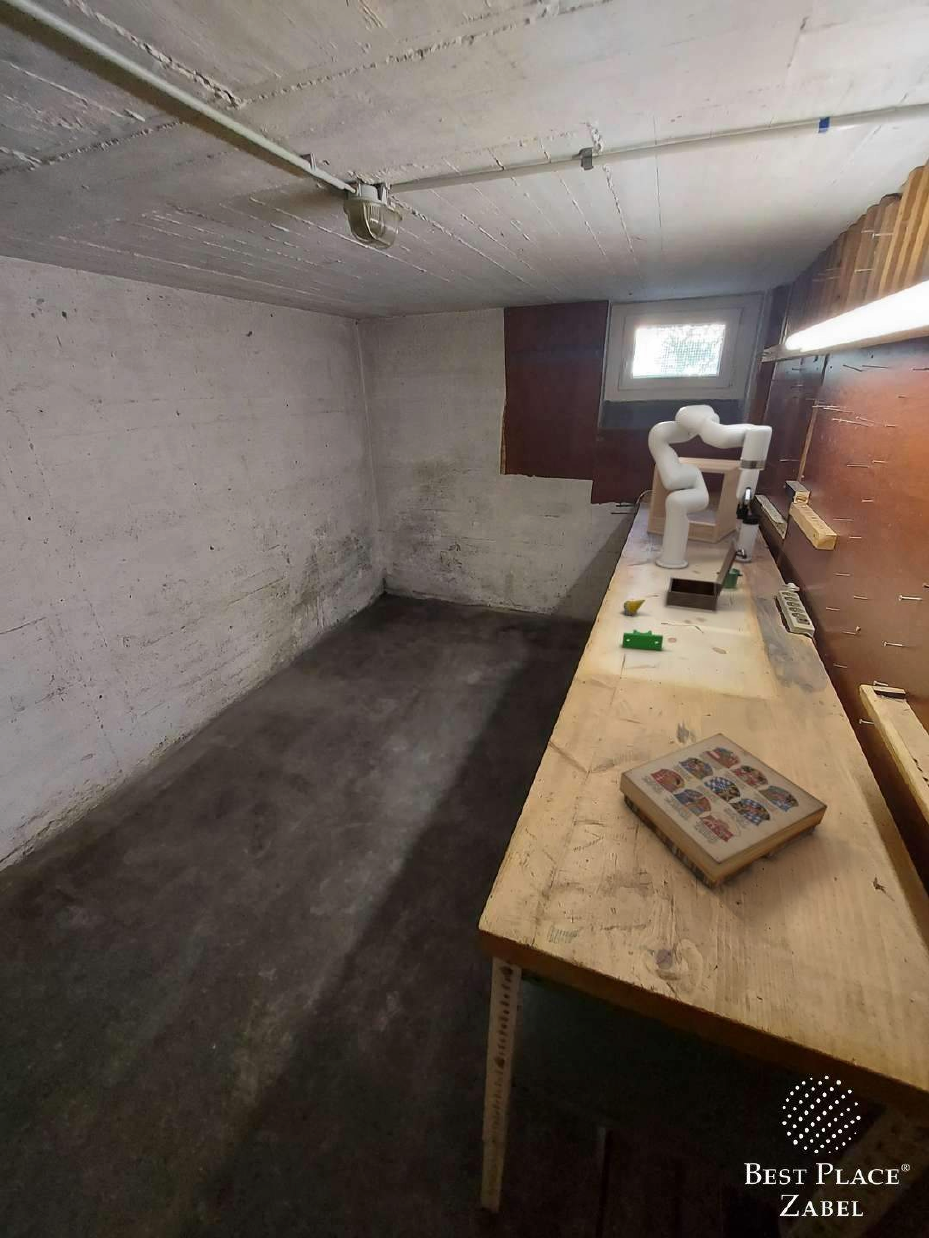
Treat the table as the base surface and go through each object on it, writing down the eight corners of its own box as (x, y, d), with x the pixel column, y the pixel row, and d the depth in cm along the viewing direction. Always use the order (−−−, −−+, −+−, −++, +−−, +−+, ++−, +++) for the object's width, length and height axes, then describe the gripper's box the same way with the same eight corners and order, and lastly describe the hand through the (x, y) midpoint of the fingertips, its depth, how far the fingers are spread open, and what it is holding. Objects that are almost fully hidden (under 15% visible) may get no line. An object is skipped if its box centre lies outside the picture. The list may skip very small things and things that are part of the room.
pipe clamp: (659, 644, 148) (662, 631, 146) (661, 650, 145) (663, 637, 143) (621, 641, 150) (623, 628, 148) (622, 647, 147) (623, 633, 145)
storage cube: (735, 529, 252) (749, 461, 237) (715, 543, 233) (729, 470, 218) (669, 520, 273) (678, 457, 258) (647, 532, 255) (655, 464, 240)
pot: (713, 589, 183) (717, 572, 180) (713, 583, 189) (717, 566, 186) (740, 592, 180) (744, 574, 177) (739, 586, 185) (743, 568, 182)
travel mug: (753, 563, 206) (763, 517, 198) (736, 563, 208) (746, 517, 199) (748, 558, 212) (758, 513, 203) (732, 558, 213) (741, 513, 205)
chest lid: (735, 550, 155) (751, 554, 153) (733, 538, 167) (748, 541, 165) (716, 595, 163) (731, 599, 161) (715, 580, 175) (729, 584, 173)
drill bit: (629, 610, 171) (651, 597, 164) (628, 622, 168) (650, 609, 160) (618, 602, 170) (639, 589, 162) (616, 614, 167) (639, 601, 159)
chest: (665, 606, 172) (668, 591, 169) (668, 591, 183) (670, 577, 181) (714, 612, 165) (717, 597, 163) (713, 596, 177) (716, 582, 175)
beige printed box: (709, 745, 107) (608, 787, 97) (715, 722, 104) (611, 763, 94) (823, 828, 86) (710, 892, 76) (834, 802, 84) (718, 864, 74)
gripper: (738, 460, 173) (728, 510, 181) (741, 468, 159) (730, 522, 167) (762, 461, 170) (751, 512, 178) (767, 469, 156) (755, 523, 164)
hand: (741, 516), depth 172 cm, fingers open, 5 cm apart
